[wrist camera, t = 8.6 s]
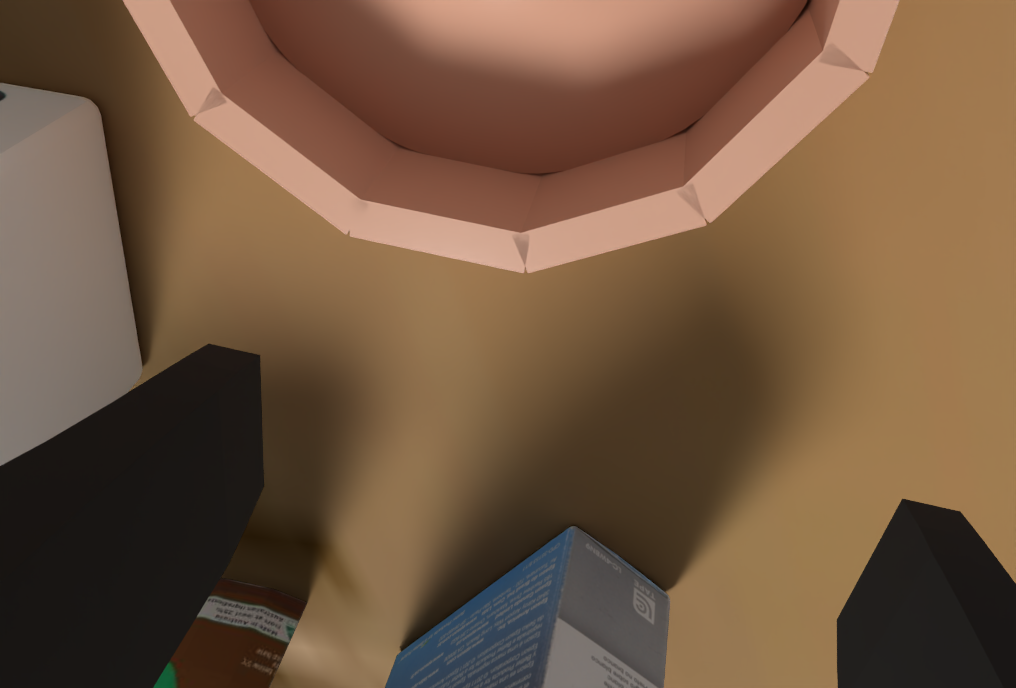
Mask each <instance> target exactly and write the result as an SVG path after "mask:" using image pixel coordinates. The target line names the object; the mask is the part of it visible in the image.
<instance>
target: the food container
mask: <svg viewBox="0 0 1016 688" xmlns="http://www.w3.org/2000/svg"><path fill="white" fill-rule="evenodd" d="M306 605H307V602H304V601H302V600H299V599H297V598H294V597H292V596H289V595H287V594H284V593H282V592H279V591H277V590H275V589H271V588H267V587H262V586H257V585H253V584H248V583H243V582H239V581H234V580H229V579H219V581H218V583H217V584H216V586H215V588H214V589H213V591H212V593H211V594H210V596H209V597H208V599H207V601H206V602H205V604H204V606H203V607H202V609H201V611H200V612H199V614H198V616H197V617H196V619H195V621H194V622H193V624H192V625H191V627H190V629H189V630H188V632H187V634H186V635H185V637H184V638H183V640H182V642H181V643H180V645H179V647H178V648H177V650H176V651H175V653H174V655H173V656H172V658H171V659H170V661H169V663H168V664H167V666H166V668H165V669H164V671H163V672H162V674H161V676H160V677H159V679H158V681H157V682H156V684H155V685H154V687H153V688H269V687H270V685H271V683H272V680H273V678H274V676H275V674H276V671H277V669H278V667H279V665H280V663H281V660H282V658H283V656H284V654H285V651H286V649H287V647H288V645H289V643H290V640H291V638H292V636H293V634H294V631H295V629H296V627H297V625H298V623H299V620H300V618H301V616H302V614H303V611H304V609H305V607H306Z"/></svg>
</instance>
